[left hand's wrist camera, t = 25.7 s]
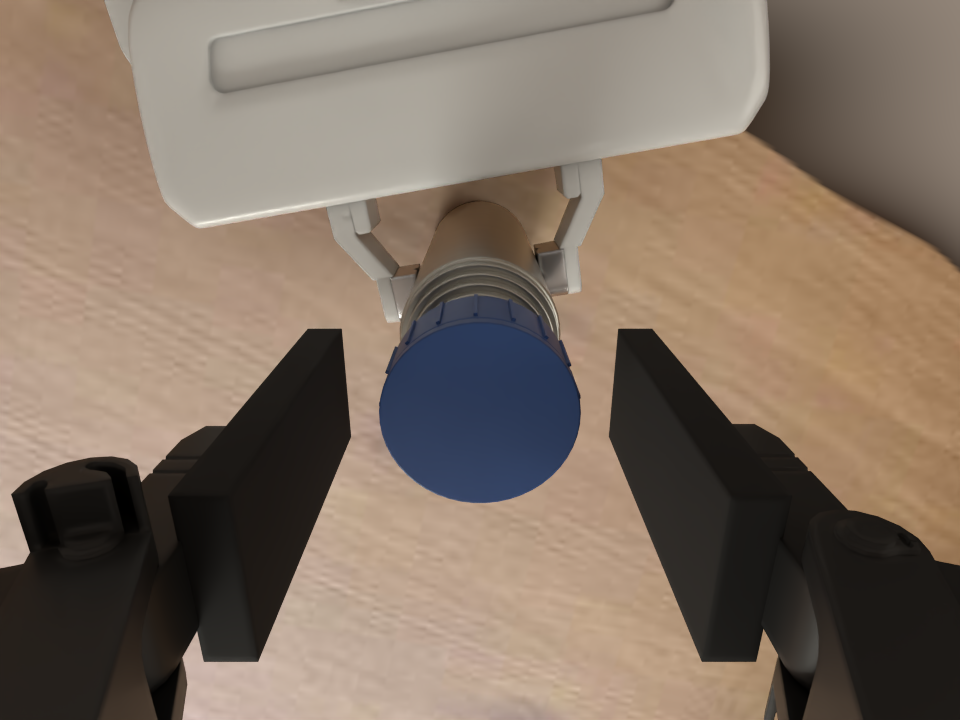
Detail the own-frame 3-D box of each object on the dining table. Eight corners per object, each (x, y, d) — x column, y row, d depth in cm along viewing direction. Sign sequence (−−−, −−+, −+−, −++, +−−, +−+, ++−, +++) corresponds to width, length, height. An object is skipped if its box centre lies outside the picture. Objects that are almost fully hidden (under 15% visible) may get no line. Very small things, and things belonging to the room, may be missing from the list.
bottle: (473, 314, 30) (465, 524, 14) (412, 242, 29) (330, 387, 13) (546, 256, 29) (625, 415, 13) (487, 180, 28) (496, 254, 12)
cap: (426, 478, 15) (418, 527, 13) (361, 326, 14) (343, 356, 12) (589, 432, 15) (604, 475, 13) (540, 268, 13) (549, 291, 11)
